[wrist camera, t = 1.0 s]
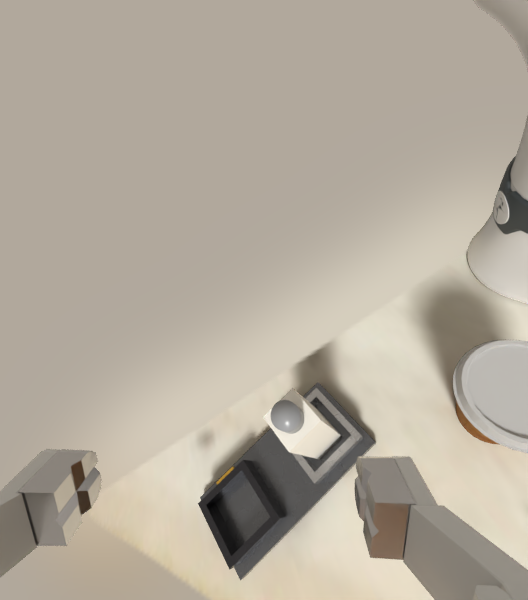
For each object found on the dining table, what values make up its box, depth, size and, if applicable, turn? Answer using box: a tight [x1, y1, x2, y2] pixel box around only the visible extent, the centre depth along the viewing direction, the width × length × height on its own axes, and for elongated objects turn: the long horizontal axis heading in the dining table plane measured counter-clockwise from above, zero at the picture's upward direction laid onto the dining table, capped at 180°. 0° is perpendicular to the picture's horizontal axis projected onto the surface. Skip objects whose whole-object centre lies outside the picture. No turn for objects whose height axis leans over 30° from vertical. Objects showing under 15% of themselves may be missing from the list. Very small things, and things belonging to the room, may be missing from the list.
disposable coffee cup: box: [453, 340, 528, 453], centre depth 30 cm, size 10×10×12 cm
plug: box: [263, 388, 342, 459], centre depth 33 cm, size 4×4×15 cm
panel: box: [198, 383, 376, 580], centre depth 38 cm, size 22×10×4 cm, turn 129°
